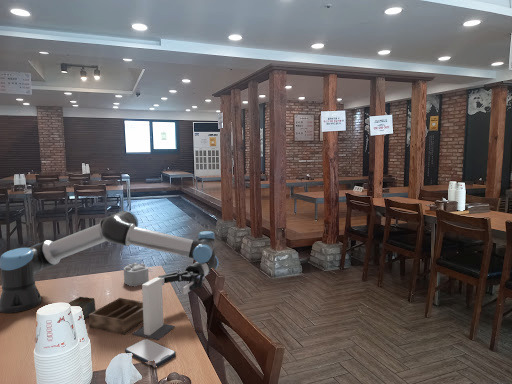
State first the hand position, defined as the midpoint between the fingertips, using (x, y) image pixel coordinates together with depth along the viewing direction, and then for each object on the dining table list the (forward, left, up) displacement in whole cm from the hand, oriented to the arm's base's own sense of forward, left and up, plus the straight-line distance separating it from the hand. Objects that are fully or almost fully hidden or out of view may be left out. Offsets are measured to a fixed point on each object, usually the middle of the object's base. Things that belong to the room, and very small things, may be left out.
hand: (168, 288), depth 135 cm
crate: (-16, -8, -12) cm, 21 cm away
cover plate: (0, -10, -12) cm, 15 cm away
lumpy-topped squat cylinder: (-40, +29, -12) cm, 51 cm away
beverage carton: (-35, -14, -13) cm, 40 cm away
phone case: (+8, -22, -13) cm, 27 cm away
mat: (0, -10, -12) cm, 15 cm away
